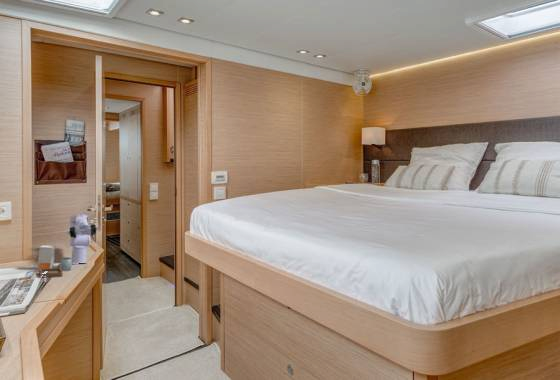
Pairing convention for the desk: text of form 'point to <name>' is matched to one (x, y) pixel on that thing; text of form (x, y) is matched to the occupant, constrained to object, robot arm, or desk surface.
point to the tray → (52, 272)
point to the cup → (66, 264)
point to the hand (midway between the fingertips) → (83, 235)
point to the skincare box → (46, 257)
